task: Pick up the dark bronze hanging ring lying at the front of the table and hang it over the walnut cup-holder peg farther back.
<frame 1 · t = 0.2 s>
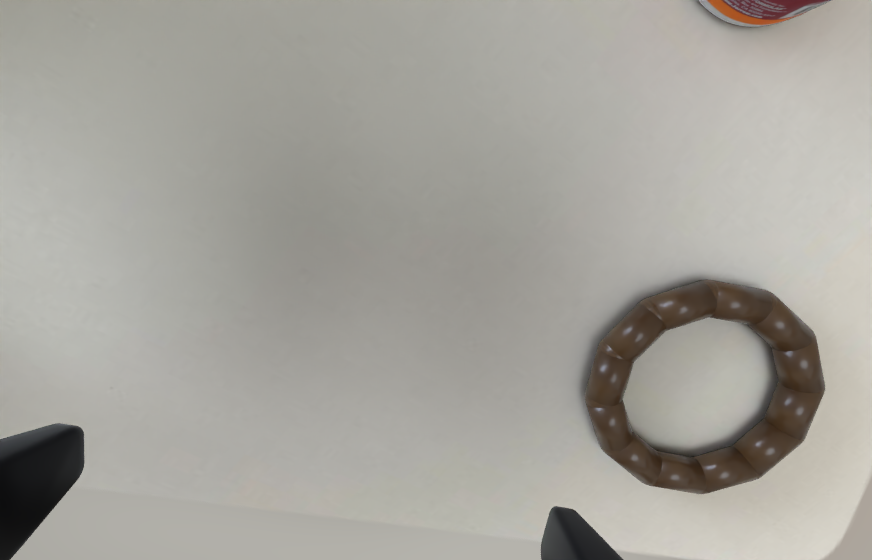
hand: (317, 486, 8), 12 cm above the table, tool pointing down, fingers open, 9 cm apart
ring: (701, 391, 20), point 1 cm above the table
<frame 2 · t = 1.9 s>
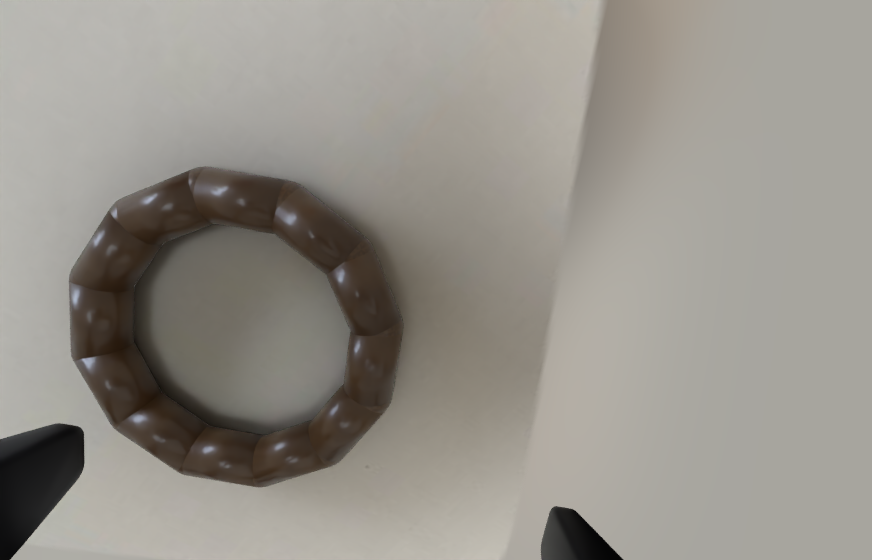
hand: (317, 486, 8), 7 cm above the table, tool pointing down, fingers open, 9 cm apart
ring: (238, 337, 14), point 1 cm above the table
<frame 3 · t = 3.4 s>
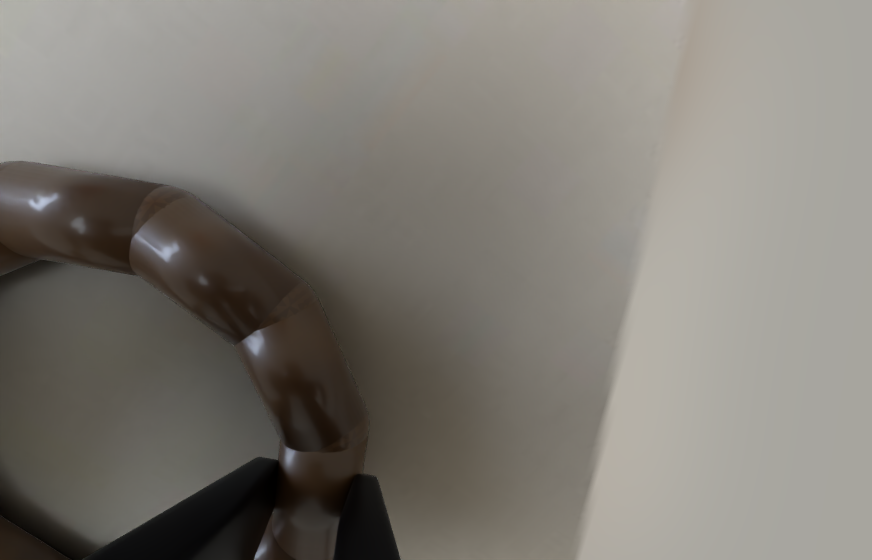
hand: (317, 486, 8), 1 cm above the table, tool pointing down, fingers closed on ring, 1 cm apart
ring: (99, 441, 8), point 1 cm above the table, touching gripper
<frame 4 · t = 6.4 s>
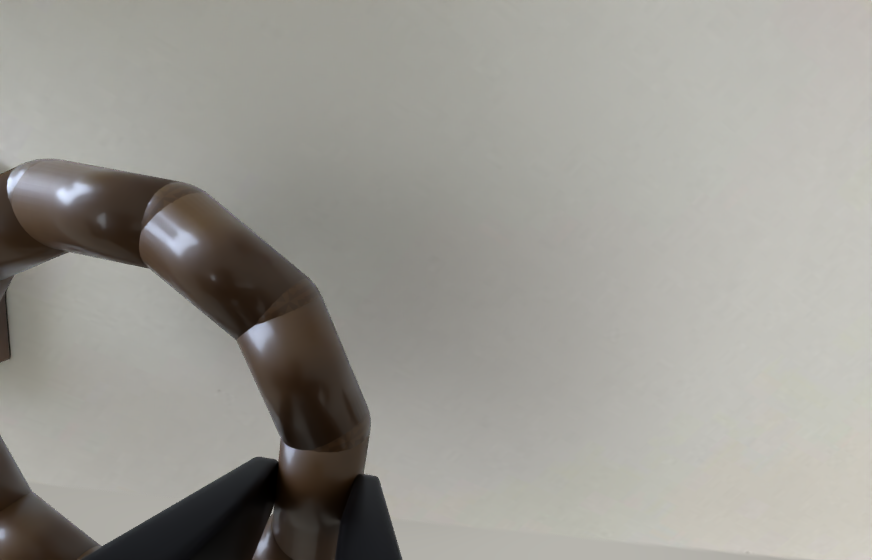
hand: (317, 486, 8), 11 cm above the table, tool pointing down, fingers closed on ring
ring: (117, 428, 9), point 10 cm above the table, tilted 6°, touching gripper
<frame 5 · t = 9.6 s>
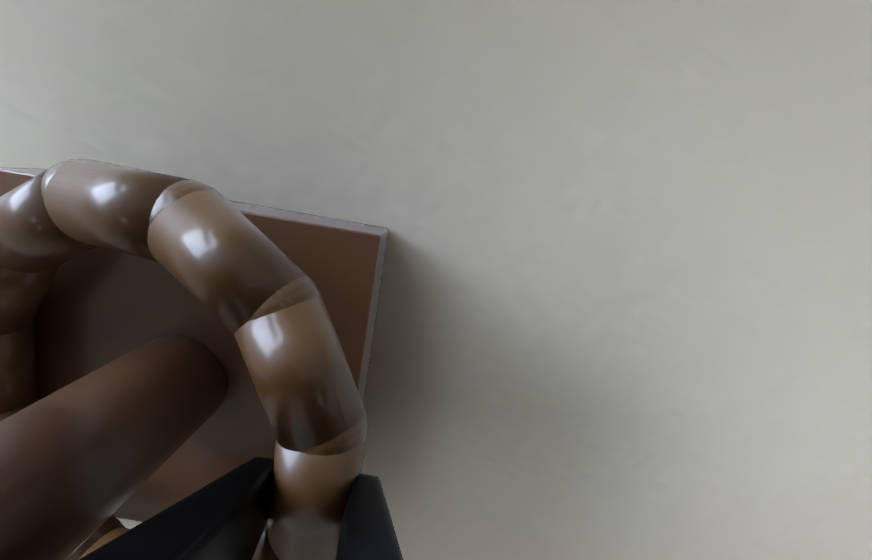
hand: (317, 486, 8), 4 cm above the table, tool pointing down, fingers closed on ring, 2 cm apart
post: (211, 356, 12), on the table
ring: (135, 415, 9), point 3 cm above the table, tilted 14°, touching gripper
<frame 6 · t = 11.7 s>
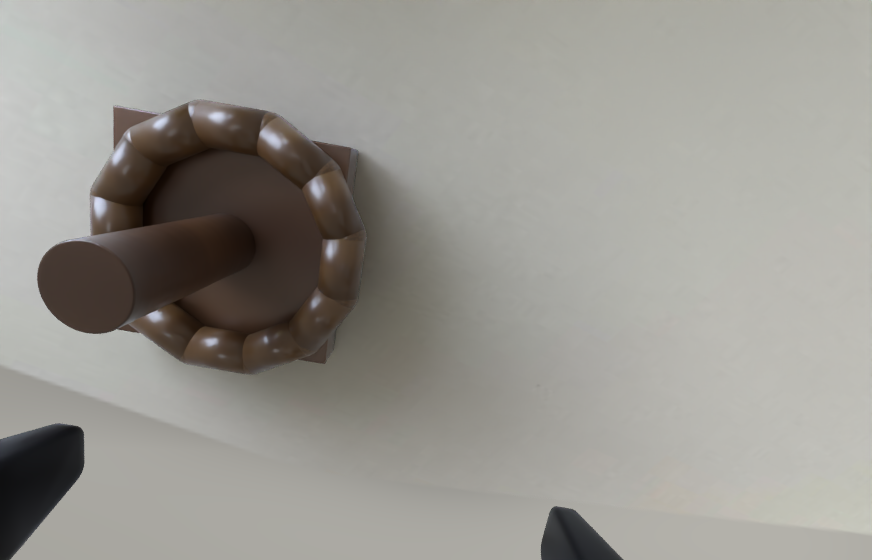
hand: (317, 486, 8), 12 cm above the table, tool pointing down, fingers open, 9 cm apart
post: (242, 238, 19), on the table
ring: (230, 246, 17), point 2 cm above the table, touching post
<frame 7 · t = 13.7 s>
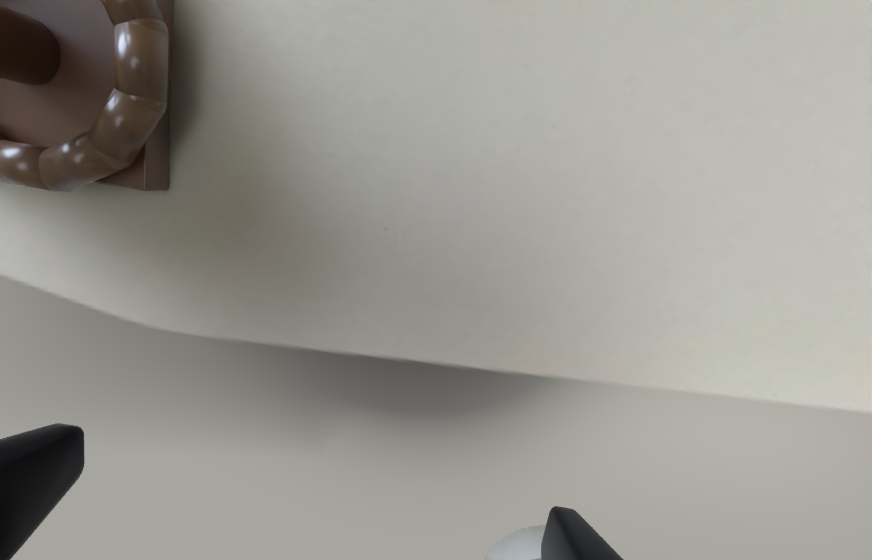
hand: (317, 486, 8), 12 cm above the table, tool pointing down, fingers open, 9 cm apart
post: (63, 61, 18), on the table
ring: (23, 43, 16), point 2 cm above the table, touching post
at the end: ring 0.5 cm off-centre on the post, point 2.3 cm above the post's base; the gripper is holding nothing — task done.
